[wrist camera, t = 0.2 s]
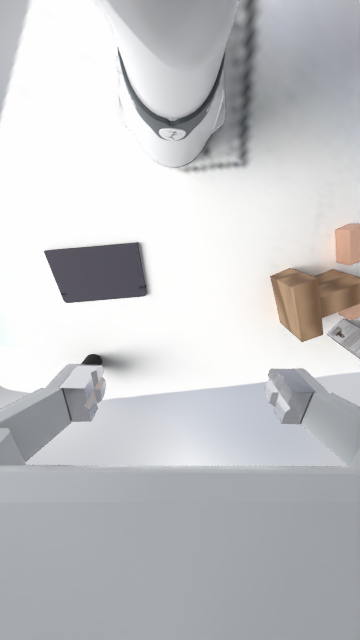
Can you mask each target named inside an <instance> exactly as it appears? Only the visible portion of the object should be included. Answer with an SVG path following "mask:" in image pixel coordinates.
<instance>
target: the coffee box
mask: <svg viewBox="0 0 360 640" xmlns="http://www.w3.org/2000/svg"><path fill="white" fill-rule="evenodd" d="M327 335H328V336H329V337H331V338H332V339H333V340H335V341H336V342H337V343H339V344H340V345H342V346H343V347H344V348H346V349H347V350H348V351H350V352H351V353H353V354H354V355H355V356H357V357H358V358H359V359H360V328H359V327H357V326H355V325H353V324H352V323H350V322H348V321H346V320H344V319H343V320H341V321H340V322H339V323H338V324H337V325H336V326H335V327H334V328H333V329H331V330H330V331H329V332H328V333H327Z"/></svg>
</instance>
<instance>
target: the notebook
mask: <svg viewBox="0 0 360 640" xmlns="http://www.w3.org/2000/svg"><path fill="white" fill-rule="evenodd" d="M44 253H45V255H46V258H47V260H48V263H49V265H50V268H51V270H52V273H53V275H54V277H55V280H56V282H57V285H58V287H59V290H60V292H61V295H62V297H63V300H64V301H65V302H66V303H72V302H84V301H95V300H107V299H118V298H130V297H141V296H145V295H146V285H145V283H144V277H143V271H142V265H141V259H140V254H139V248H138V243H127V244H116V245H104V246H93V247H81V248H70V249H58V250H47V251H44Z"/></svg>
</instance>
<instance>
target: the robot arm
mask: <svg viewBox="0 0 360 640" xmlns="http://www.w3.org/2000/svg"><path fill="white" fill-rule="evenodd" d="M92 1H93V2H94V3H95V4H96V6H97V7H98V8H99V10H100V11H101V12H102V14H103V15H104V17H105V18H106V20H107V21H108V23H109V26H110V28H111V30H112V33H113V35H114V38H115V41H116V43H117V46H118V55H119V56H116V69H117V72H118V97H117V113H118V117H119V119H120V121H121V123H122V124H123V125H124V126H125V127H126V128H128V129H129V130H130V131H131V132H132V133H133V134H134V135H135V137H136V139H137V140H138V142H139V144H140V146H141V147H142V149H143V150H144V152H145V153H146V154H147V155H148V156H149V157H150V158H151V159H152V160H154V161H155V162H156V163H158V164H160V165H163V166H166V167H180V166H183V165H186V164H188V163H189V162H191V161H192V160H194V159H195V158H196V157H197V156H198V155H199V153H200V152H201V151H202V149H203V148H204V146H205V144H206V142H207V140H208V139H209V137H210V136H211V135H212V134H213V133H214V132H215V131H217V130H218V129H219V128H220V127H221V126H222V124H223V123H224V120H225V116H226V109H225V89H224V68H223V64H224V57H225V49H226V45H227V42H228V39H229V36H230V32H231V29H232V26H233V23H234V19H235V16H236V12H237V8H238V4H239V0H92ZM103 373H104V370H103V366H101V365H88V364H68V365H66V366H65V367H64V368H63V369H62V370H61V372H60V373H59V374H58V375H57V376H56V377H55V378H54V379H53V380H52V381H51V382H50V383H49V385H48V386H47V387H46V388H41V389H39V390H37V391H35V392H33V393H31V394H29V395H27V396H25V397H23V398H21V399H19V400H17V401H15V402H13V403H11V404H9V405H7V406H5V407H3V408H1V409H0V640H360V407H359V406H357V405H355V404H353V403H351V402H349V401H347V400H345V399H343V398H341V397H339V396H337V395H336V394H334V393H329V392H328V391H327V390H326V389H324V387H322V386H321V384H319V383H318V382H317V381H316V380H315V379H314V378H313V377H312V376H311V375H310V374H309V373H308V372H307V371H306V370H304V369H271V370H270V371H269V374H268V376H269V378H270V380H269V381H267V382H266V385H265V395H266V398H267V400H268V402H269V403H270V404H272V405H273V406H274V407H275V408H274V412H275V414H276V415H277V417H278V419H279V420H280V422H281V423H282V424H301V426H302V427H303V428H304V429H305V430H307V431H308V432H309V433H310V434H311V435H313V436H314V437H315V438H316V439H317V440H319V441H320V442H321V443H322V444H323V445H325V446H326V447H327V448H328V449H329V450H330V451H332V452H333V453H334V454H335V455H336V456H338V457H339V458H340V459H341V460H342V461H343V462H345V463H346V464H347V465H348V467H334V466H329V467H328V466H325V467H323V466H132V465H131V466H130V465H128V466H127V465H126V466H125V465H123V466H122V465H112V466H111V465H26V463H25V462H26V461H27V460H29V459H30V458H31V457H32V456H33V455H34V454H35V453H37V452H38V451H39V450H40V449H41V448H42V447H44V445H46V444H47V443H48V442H49V441H51V440H52V439H53V438H54V437H55V436H56V435H58V434H59V433H60V432H61V431H62V430H63V429H64V428H66V427H67V426H68V425H69V424H70V423H71V422H79V421H80V422H81V421H92V419H93V417H94V415H95V413H96V411H97V409H98V407H97V403H99V402H100V401H101V400H102V398H103V396H104V393H105V388H106V383H105V379H104V378H103V377H102V375H103Z"/></svg>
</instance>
